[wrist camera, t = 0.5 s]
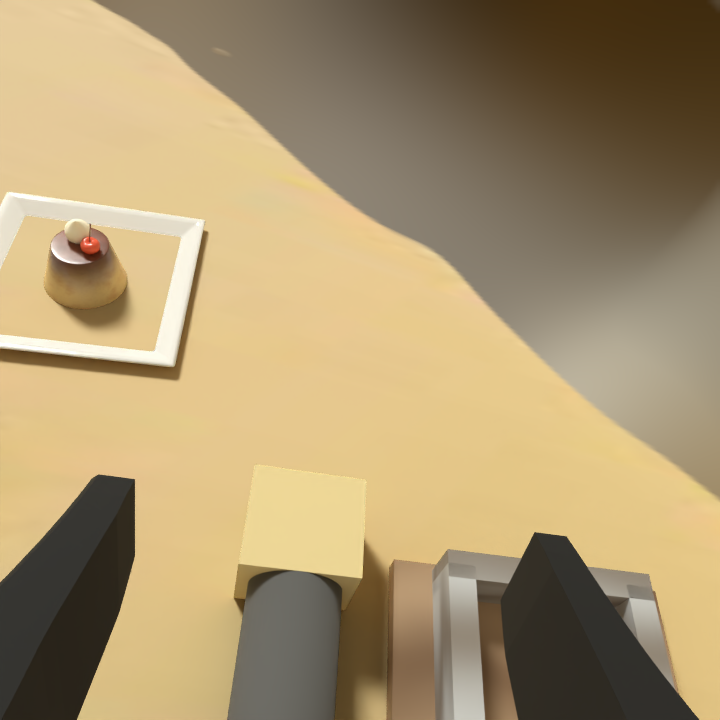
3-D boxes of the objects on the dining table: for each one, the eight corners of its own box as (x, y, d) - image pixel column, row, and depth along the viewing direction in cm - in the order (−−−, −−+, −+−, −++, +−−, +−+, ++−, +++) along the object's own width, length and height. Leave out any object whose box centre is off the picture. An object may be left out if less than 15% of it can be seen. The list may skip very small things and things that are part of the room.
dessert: (175, 379, 37) (173, 322, 33) (-62, 354, 35) (-92, 290, 31) (205, 232, 44) (206, 172, 41) (11, 205, 42) (-7, 139, 39)
